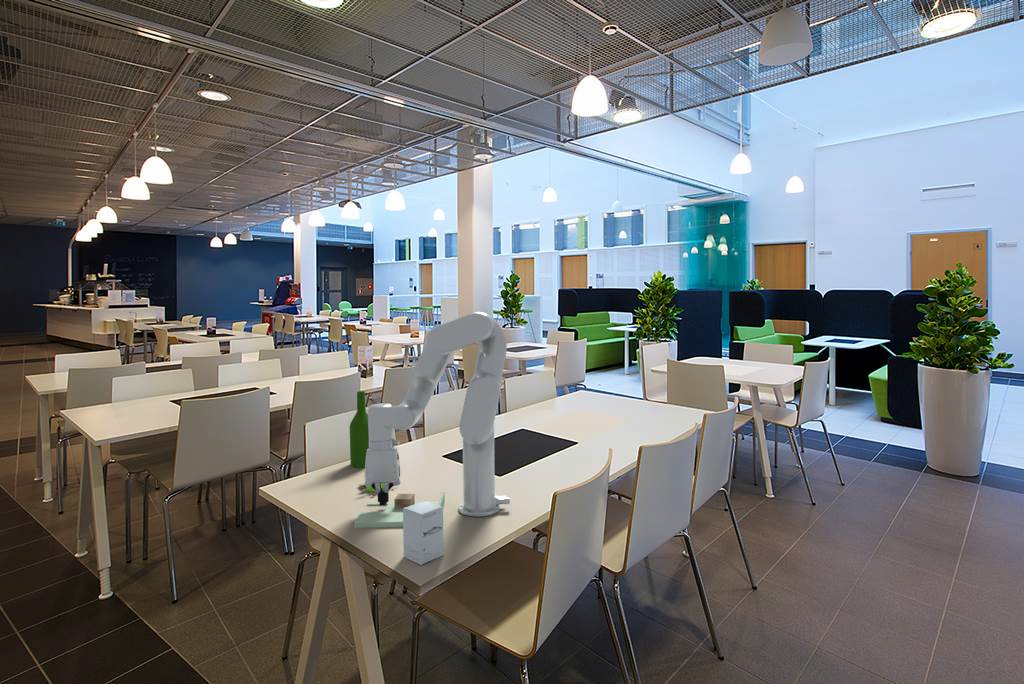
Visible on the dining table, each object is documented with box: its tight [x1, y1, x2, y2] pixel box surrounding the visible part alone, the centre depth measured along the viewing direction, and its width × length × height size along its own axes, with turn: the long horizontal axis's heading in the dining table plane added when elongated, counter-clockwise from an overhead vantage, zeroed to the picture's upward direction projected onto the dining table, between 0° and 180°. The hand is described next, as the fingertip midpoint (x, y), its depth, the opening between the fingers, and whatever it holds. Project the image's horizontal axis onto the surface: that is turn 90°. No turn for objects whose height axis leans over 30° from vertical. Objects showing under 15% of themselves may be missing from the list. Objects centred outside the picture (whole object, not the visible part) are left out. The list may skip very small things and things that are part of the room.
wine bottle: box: [349, 390, 369, 469], centre depth 203 cm, size 9×9×32 cm
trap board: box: [353, 491, 446, 529], centre depth 157 cm, size 24×16×6 cm, turn 92°
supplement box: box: [402, 500, 445, 566], centre depth 132 cm, size 7×7×13 cm
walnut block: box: [393, 493, 416, 509], centre depth 162 cm, size 5×5×3 cm
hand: (383, 504), depth 161 cm, fingers closed
